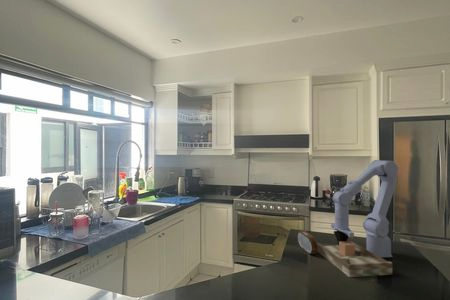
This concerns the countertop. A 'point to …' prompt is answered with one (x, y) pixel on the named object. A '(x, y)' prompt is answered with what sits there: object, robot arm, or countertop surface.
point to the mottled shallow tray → (356, 261)
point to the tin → (307, 242)
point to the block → (346, 248)
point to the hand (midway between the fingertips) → (341, 247)
